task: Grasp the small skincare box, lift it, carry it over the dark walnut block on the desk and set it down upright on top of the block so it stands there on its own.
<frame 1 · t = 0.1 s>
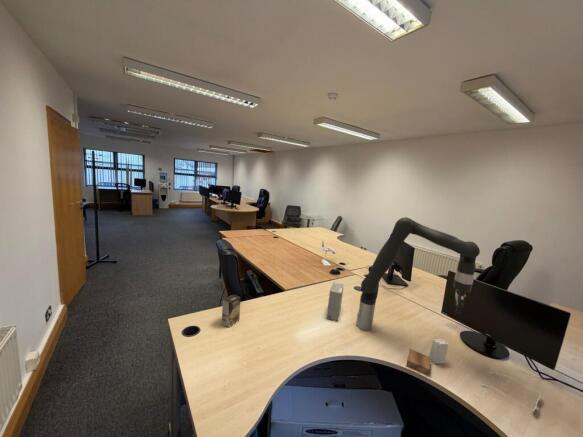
hand: (457, 309, 123), 29 cm above the table, fingers open, 8 cm apart
eyeglasses: (508, 393, 109), on the table
hard drive box: (333, 314, 162), on the table
coffee box: (230, 322, 146), on the table
skincare box: (436, 361, 125), on the table
walnut block: (417, 365, 122), on the table
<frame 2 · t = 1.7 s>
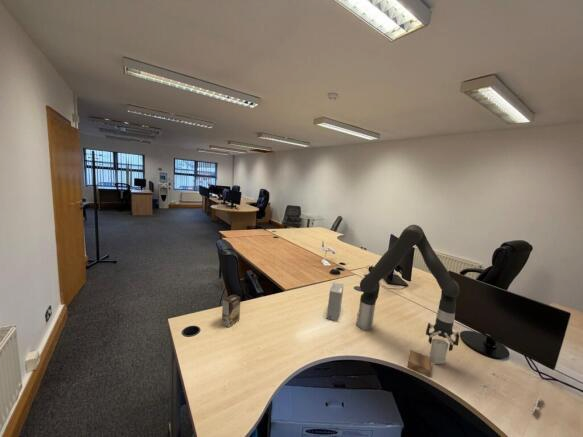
hand: (439, 346, 124), 9 cm above the table, fingers open, 8 cm apart
nothing on the table moved.
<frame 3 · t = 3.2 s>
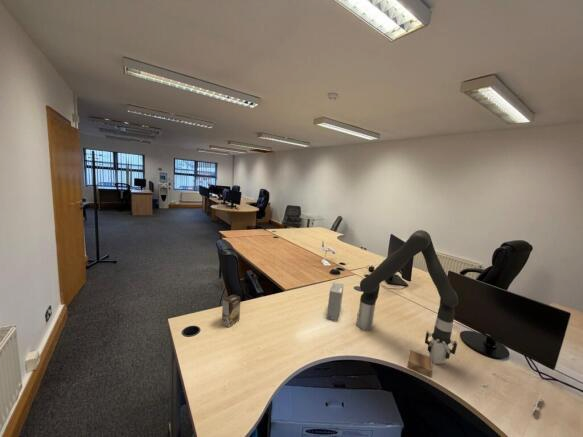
hand: (437, 354, 125), 4 cm above the table, fingers closed on skincare box, 7 cm apart
skincare box: (436, 361, 125), on the table, touching gripper
everything else where it was.
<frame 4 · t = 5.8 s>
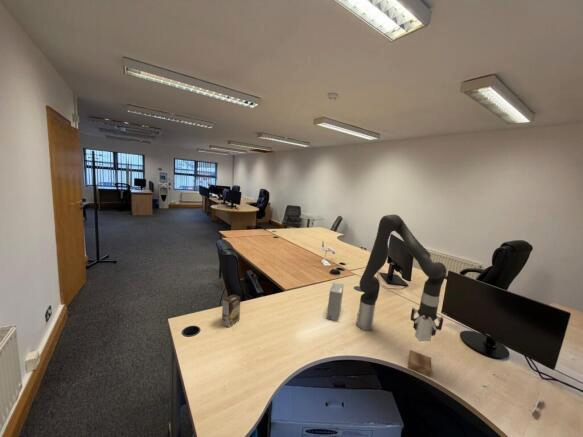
hand: (423, 332, 119), 19 cm above the table, fingers closed on skincare box, 7 cm apart
skincare box: (422, 339, 120), point 15 cm above the table, touching gripper
everything else where it was.
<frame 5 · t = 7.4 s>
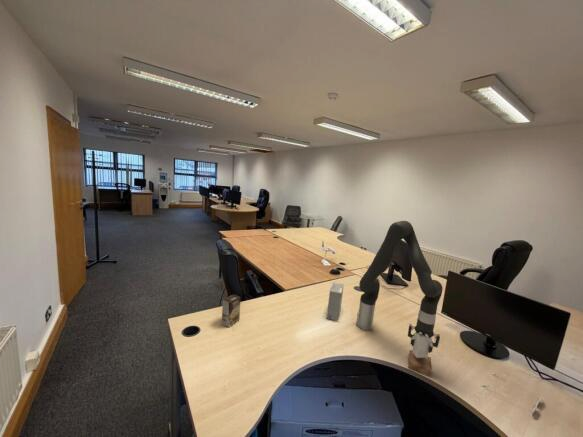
hand: (420, 348, 121), 9 cm above the table, fingers closed on skincare box, 7 cm apart
skincare box: (419, 355, 121), point 5 cm above the table, touching gripper
everything else where it was.
when the fingers open (9 cm above the table, at t = 8.4 s): skincare box drops 2 cm, resting on walnut block.
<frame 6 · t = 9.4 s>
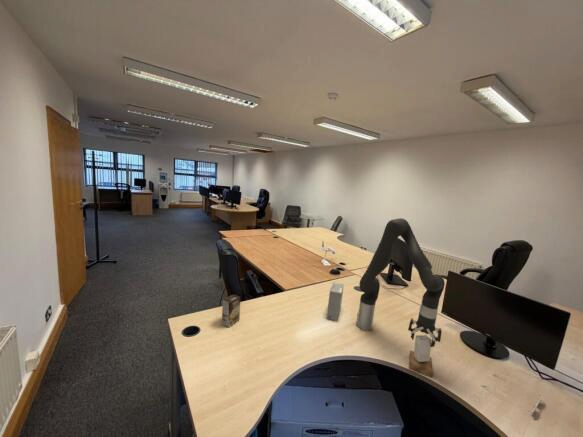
hand: (422, 342, 120), 13 cm above the table, fingers open, 8 cm apart
skincare box: (421, 359, 121), point 3 cm above the table, touching walnut block
walnut block: (419, 367, 121), on the table, touching skincare box
everything else where it was.
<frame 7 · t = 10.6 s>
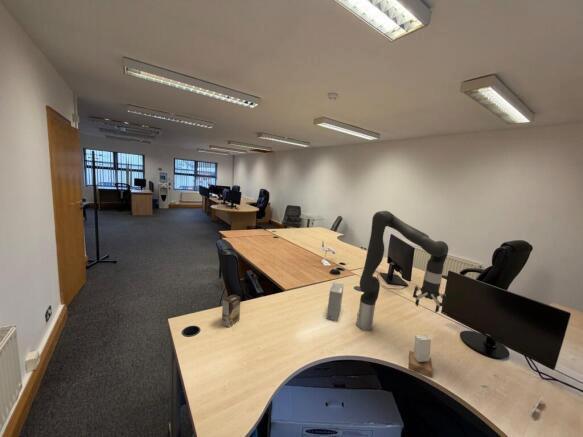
hand: (426, 308, 123), 28 cm above the table, fingers open, 8 cm apart
nothing on the table moved.
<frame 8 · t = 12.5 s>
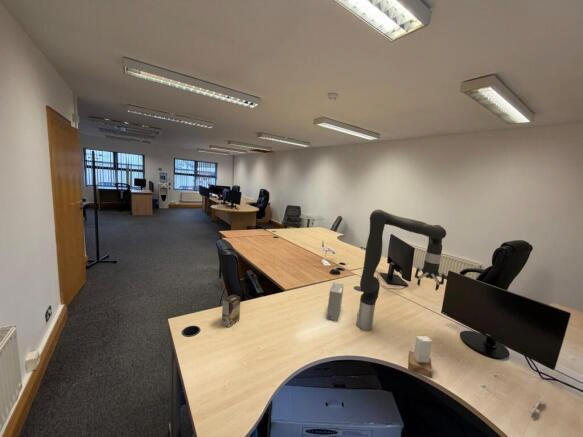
hand: (427, 287, 135), 34 cm above the table, fingers open, 8 cm apart
at the end: skincare box inside the target area on the walnut block (0.4 cm from its centre), point 3.9 cm above the walnut block's base; skincare box tilted 2°; the gripper is holding nothing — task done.
